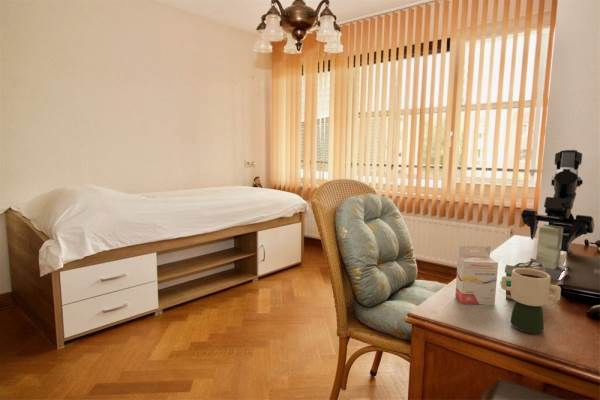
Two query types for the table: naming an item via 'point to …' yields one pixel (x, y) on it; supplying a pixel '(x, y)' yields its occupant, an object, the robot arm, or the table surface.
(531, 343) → the table surface
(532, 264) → the food container
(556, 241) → the sage block
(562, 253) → the ivory cube
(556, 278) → the slate slab
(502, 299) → the table surface
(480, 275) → the ink cartridge box
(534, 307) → the character mug
